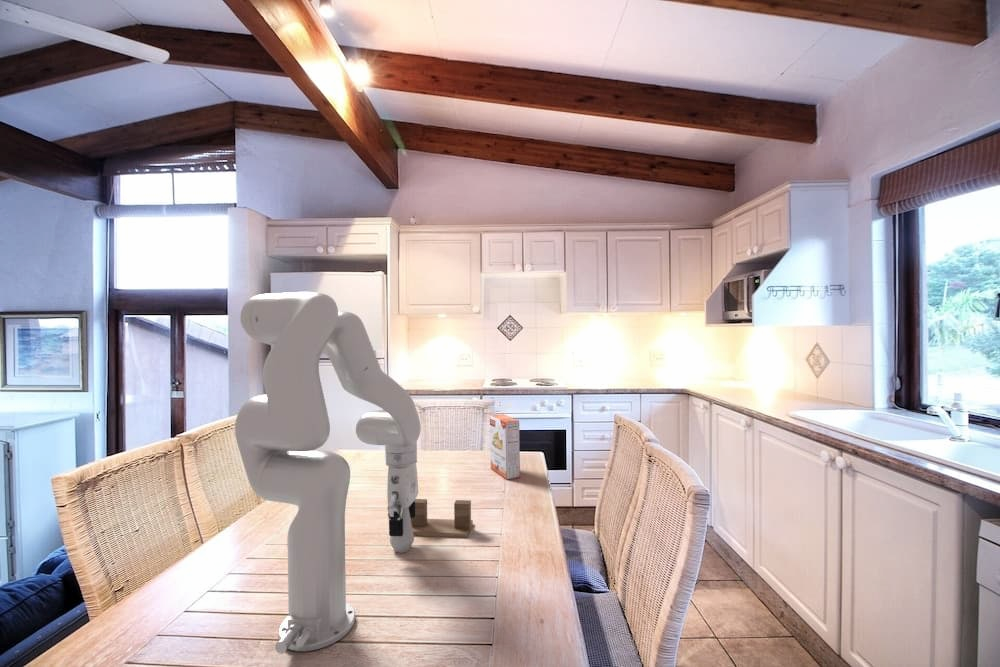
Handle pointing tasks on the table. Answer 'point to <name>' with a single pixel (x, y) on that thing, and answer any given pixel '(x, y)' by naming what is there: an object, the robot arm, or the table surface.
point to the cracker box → (505, 446)
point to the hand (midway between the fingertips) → (402, 526)
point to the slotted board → (442, 521)
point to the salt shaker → (406, 540)
